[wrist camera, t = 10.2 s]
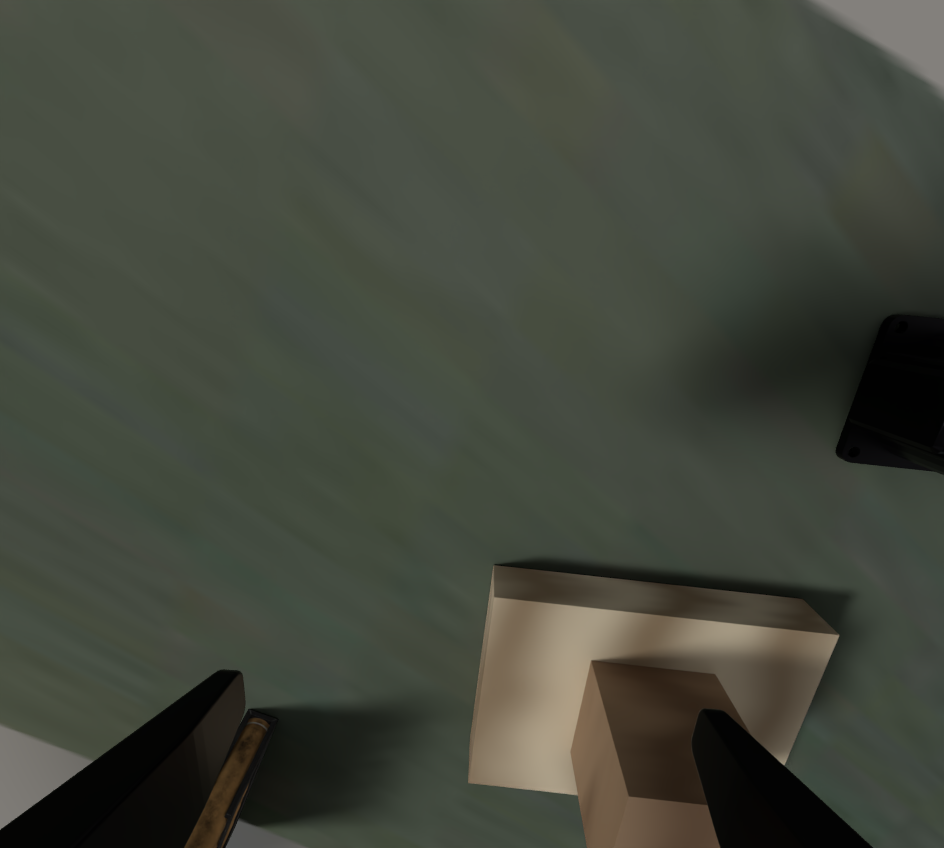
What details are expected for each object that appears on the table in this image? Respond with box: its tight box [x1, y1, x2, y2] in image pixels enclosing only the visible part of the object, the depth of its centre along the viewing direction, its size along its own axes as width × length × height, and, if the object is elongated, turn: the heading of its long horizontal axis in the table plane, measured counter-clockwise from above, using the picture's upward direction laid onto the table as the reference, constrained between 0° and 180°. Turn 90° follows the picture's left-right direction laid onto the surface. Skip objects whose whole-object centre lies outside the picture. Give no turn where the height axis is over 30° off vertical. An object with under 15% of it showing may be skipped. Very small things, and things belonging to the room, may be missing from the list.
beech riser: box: [468, 565, 839, 795], centre depth 23 cm, size 16×12×2 cm
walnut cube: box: [570, 660, 751, 848], centre depth 19 cm, size 6×6×6 cm
